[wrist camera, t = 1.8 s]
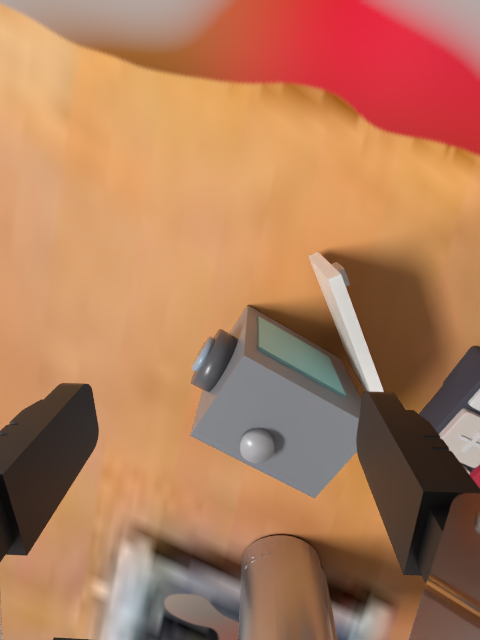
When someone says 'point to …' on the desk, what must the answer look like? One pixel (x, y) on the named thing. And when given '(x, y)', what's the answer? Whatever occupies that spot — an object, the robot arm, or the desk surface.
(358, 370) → the side door
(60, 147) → the desk surface
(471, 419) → the calculator
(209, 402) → the camera body
